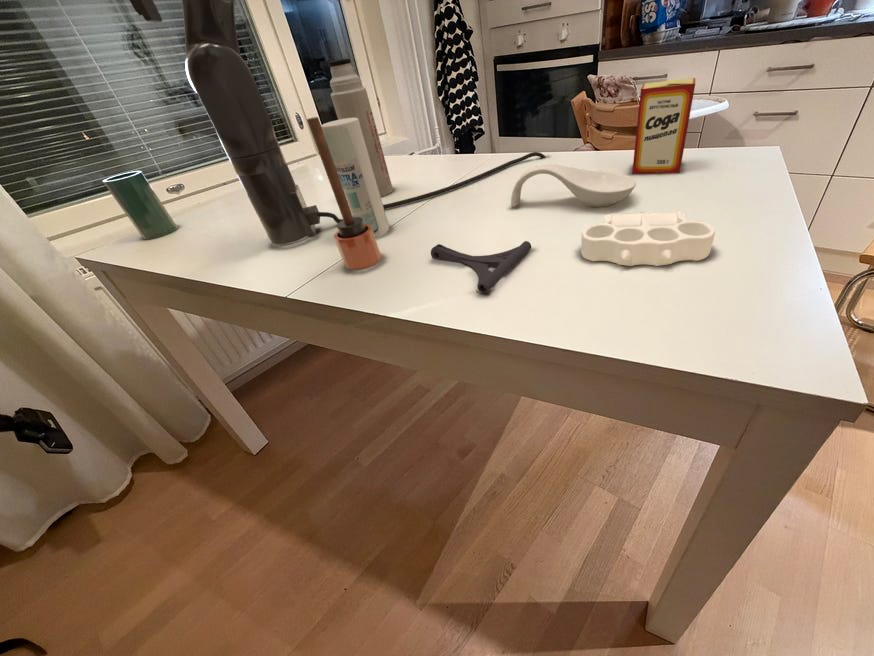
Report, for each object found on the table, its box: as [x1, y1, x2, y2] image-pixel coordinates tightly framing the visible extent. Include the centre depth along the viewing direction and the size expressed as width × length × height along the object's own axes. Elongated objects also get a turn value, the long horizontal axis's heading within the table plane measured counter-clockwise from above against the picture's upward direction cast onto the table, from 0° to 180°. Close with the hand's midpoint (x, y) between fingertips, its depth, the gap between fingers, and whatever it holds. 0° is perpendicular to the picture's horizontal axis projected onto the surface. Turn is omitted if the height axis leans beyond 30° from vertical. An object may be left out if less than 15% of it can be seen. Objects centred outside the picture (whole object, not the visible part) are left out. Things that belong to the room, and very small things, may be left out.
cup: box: [102, 170, 178, 240], centre depth 98 cm, size 8×8×14 cm
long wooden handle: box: [306, 116, 367, 238], centre depth 63 cm, size 4×4×22 cm
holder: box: [333, 224, 382, 271], centre depth 68 cm, size 6×6×6 cm
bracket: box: [430, 240, 532, 295], centre depth 63 cm, size 14×15×3 cm
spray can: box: [321, 118, 390, 237], centre depth 75 cm, size 6×6×20 cm
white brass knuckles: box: [580, 210, 716, 267], centre depth 59 cm, size 3×18×15 cm
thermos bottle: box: [327, 58, 394, 198], centre depth 94 cm, size 8×8×28 cm
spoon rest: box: [510, 163, 637, 208], centre depth 76 cm, size 24×12×7 cm, turn 74°
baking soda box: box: [631, 77, 696, 175], centre depth 82 cm, size 10×6×16 cm
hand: (190, 11), depth 43 cm, fingers open, 8 cm apart
